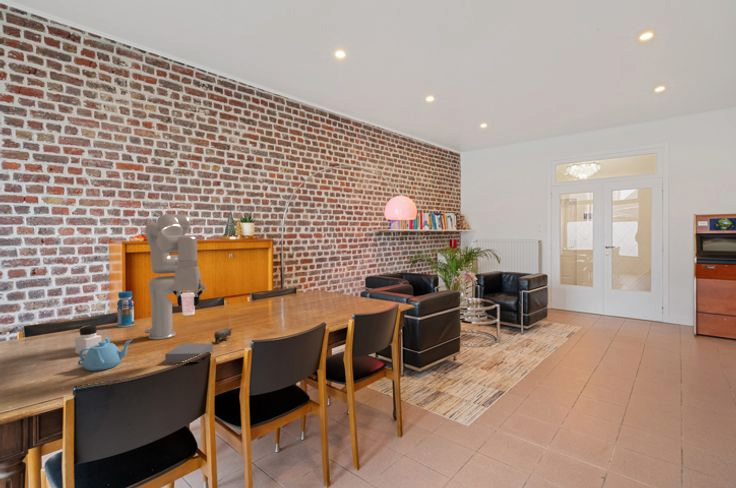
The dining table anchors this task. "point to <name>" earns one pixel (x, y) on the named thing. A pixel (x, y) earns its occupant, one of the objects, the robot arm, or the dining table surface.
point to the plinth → (187, 352)
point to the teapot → (102, 356)
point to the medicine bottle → (87, 339)
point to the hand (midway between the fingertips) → (188, 305)
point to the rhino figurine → (222, 335)
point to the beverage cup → (188, 303)
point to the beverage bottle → (125, 309)
